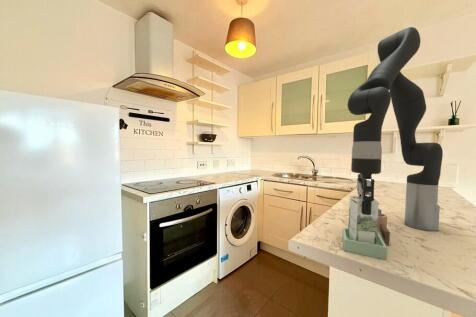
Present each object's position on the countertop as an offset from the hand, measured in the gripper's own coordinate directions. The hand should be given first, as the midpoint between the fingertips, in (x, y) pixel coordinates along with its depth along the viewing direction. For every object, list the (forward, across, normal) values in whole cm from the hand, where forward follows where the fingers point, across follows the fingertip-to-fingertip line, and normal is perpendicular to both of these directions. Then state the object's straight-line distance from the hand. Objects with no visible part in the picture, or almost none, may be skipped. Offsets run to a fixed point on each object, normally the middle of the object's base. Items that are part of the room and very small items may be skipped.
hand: (364, 210), depth 60 cm
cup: (+12, +18, -6) cm, 23 cm away
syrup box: (+11, 0, 0) cm, 11 cm away
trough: (+11, 0, 0) cm, 11 cm away
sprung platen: (+10, +9, -2) cm, 14 cm away
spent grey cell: (+12, +18, -6) cm, 23 cm away
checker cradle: (+12, +9, -2) cm, 15 cm away
